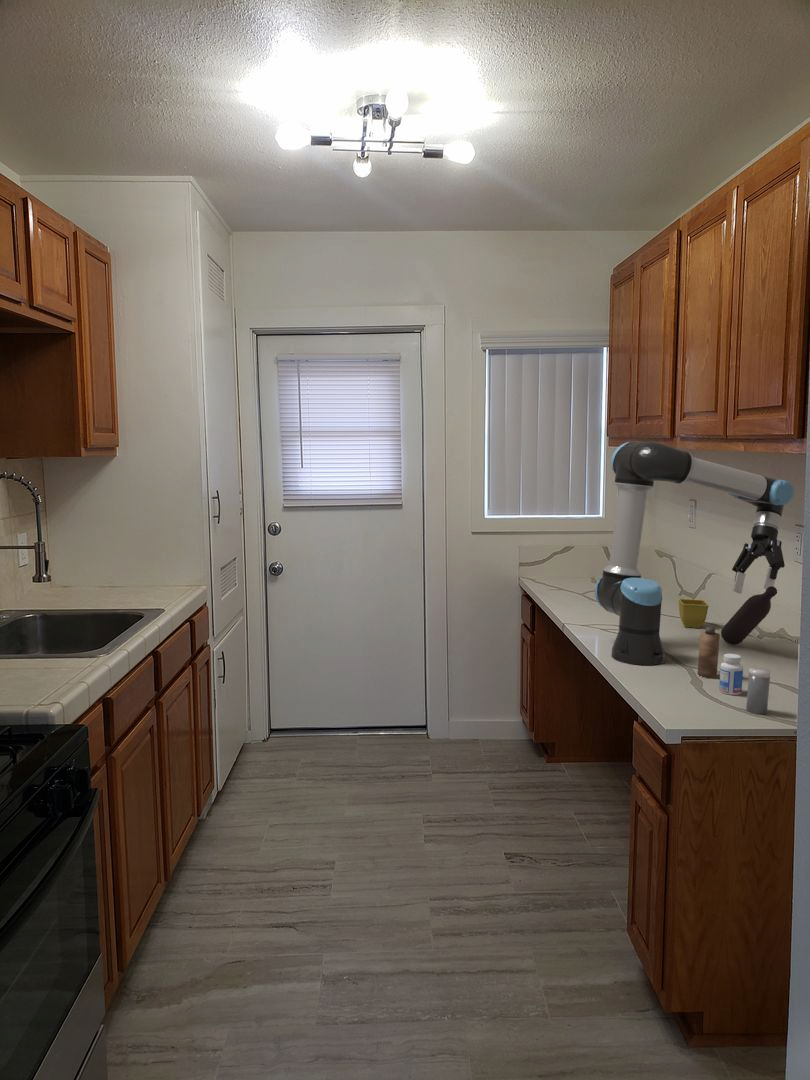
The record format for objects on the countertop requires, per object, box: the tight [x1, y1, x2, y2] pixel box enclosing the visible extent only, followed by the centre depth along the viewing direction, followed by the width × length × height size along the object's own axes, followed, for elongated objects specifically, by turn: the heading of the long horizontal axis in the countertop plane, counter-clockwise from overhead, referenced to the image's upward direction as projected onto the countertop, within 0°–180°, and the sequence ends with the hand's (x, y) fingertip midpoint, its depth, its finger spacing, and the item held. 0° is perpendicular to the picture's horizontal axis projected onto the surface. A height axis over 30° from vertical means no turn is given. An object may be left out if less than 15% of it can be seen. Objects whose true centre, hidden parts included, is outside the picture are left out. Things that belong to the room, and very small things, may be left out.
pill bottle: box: [718, 653, 744, 696], centre depth 197 cm, size 6×5×10 cm
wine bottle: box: [720, 586, 778, 646], centre depth 234 cm, size 7×7×30 cm
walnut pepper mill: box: [697, 626, 721, 679], centre depth 211 cm, size 5×5×14 cm
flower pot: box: [678, 598, 709, 629], centre depth 269 cm, size 9×9×9 cm
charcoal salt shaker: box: [745, 666, 771, 715], centre depth 183 cm, size 5×5×10 cm
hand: (752, 590), depth 238 cm, fingers open, 13 cm apart
